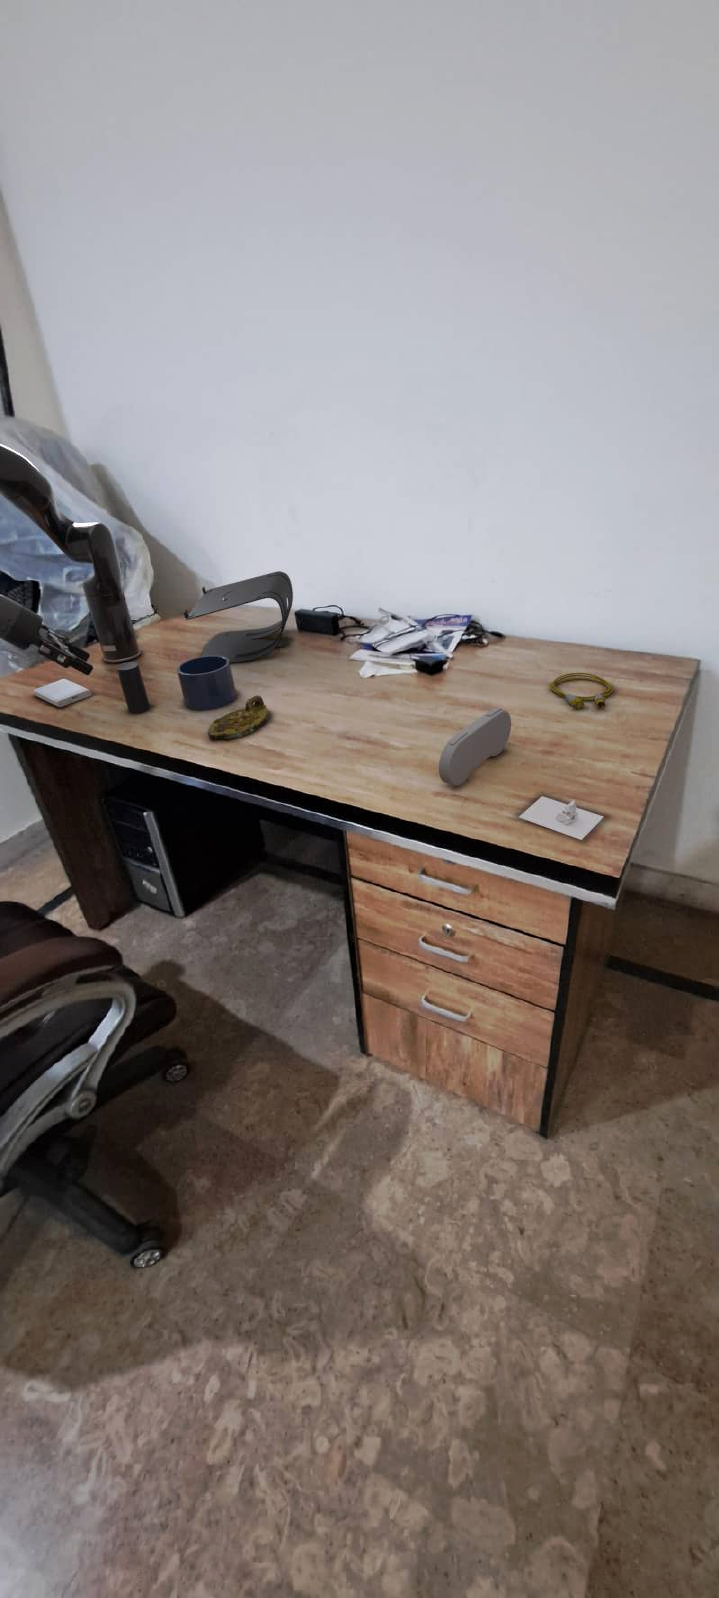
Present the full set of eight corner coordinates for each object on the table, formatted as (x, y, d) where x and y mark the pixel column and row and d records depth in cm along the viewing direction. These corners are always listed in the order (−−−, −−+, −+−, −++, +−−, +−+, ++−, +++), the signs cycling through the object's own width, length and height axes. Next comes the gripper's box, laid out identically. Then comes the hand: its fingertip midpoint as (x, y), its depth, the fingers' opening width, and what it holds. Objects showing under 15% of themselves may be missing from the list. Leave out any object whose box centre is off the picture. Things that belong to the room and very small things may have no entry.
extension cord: (538, 705, 132) (539, 695, 131) (560, 675, 143) (560, 666, 142) (602, 713, 127) (603, 704, 126) (620, 682, 138) (621, 672, 137)
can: (180, 696, 151) (172, 662, 147) (229, 684, 155) (222, 651, 150) (190, 714, 142) (182, 679, 138) (241, 701, 146) (235, 666, 141)
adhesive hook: (570, 827, 97) (572, 809, 96) (553, 821, 99) (555, 803, 97) (580, 817, 99) (582, 800, 97) (563, 812, 101) (565, 794, 99)
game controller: (499, 742, 121) (500, 699, 116) (510, 745, 119) (512, 702, 115) (437, 790, 109) (436, 745, 104) (449, 794, 107) (448, 748, 103)
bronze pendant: (229, 751, 129) (281, 719, 138) (226, 729, 126) (280, 698, 136) (195, 736, 133) (248, 706, 143) (192, 715, 130) (246, 686, 140)
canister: (127, 707, 148) (114, 664, 143) (148, 702, 150) (136, 660, 144) (130, 715, 145) (117, 671, 139) (151, 710, 146) (139, 666, 141)
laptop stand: (288, 659, 165) (279, 596, 157) (193, 667, 166) (179, 604, 158) (298, 626, 187) (290, 569, 178) (214, 632, 188) (202, 576, 180)
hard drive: (32, 689, 158) (56, 701, 151) (65, 677, 163) (90, 688, 155) (34, 696, 159) (59, 708, 151) (67, 684, 164) (92, 695, 156)
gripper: (19, 613, 123) (102, 659, 132) (19, 596, 134) (95, 639, 144) (-1, 647, 124) (82, 691, 134) (1, 627, 135) (77, 669, 145)
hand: (89, 664), depth 139 cm, fingers open, 8 cm apart
